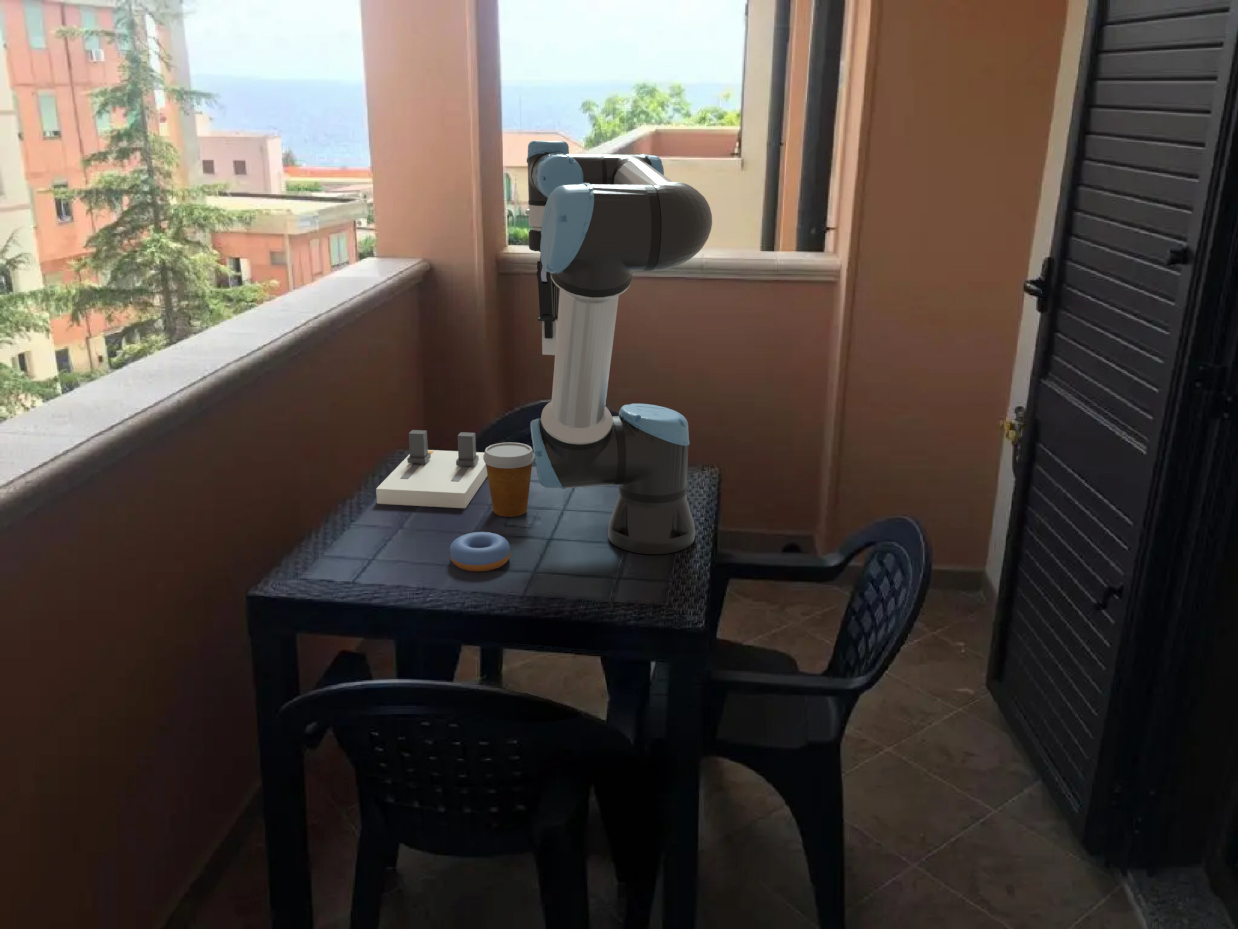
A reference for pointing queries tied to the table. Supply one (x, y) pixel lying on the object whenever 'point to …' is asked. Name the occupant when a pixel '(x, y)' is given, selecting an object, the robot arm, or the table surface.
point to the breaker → (466, 450)
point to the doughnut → (480, 551)
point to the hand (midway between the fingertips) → (549, 353)
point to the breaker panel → (433, 482)
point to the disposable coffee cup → (509, 477)
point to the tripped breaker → (418, 447)
